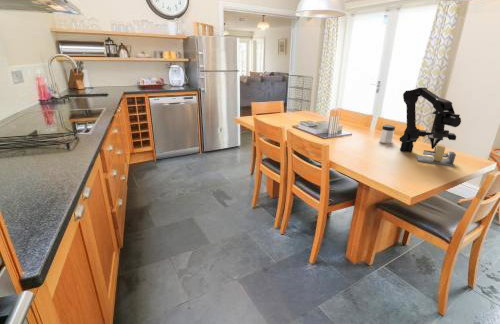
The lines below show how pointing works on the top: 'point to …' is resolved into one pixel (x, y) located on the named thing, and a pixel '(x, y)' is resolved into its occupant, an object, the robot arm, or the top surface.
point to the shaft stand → (427, 159)
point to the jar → (387, 133)
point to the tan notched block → (439, 152)
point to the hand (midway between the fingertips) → (432, 148)
